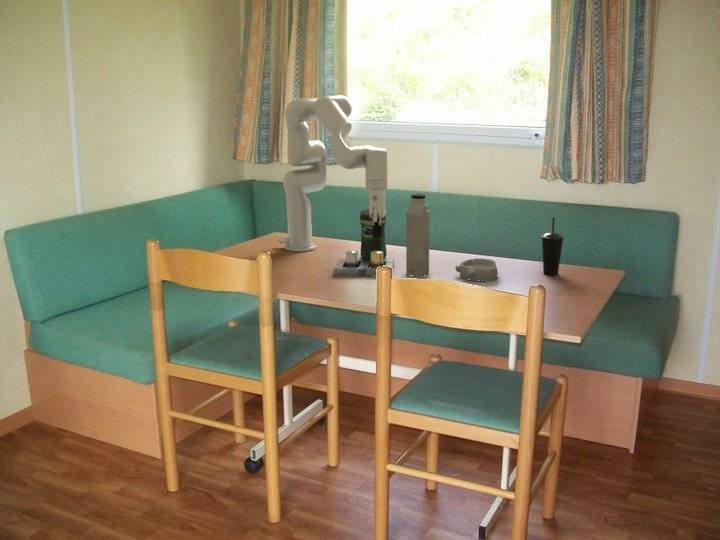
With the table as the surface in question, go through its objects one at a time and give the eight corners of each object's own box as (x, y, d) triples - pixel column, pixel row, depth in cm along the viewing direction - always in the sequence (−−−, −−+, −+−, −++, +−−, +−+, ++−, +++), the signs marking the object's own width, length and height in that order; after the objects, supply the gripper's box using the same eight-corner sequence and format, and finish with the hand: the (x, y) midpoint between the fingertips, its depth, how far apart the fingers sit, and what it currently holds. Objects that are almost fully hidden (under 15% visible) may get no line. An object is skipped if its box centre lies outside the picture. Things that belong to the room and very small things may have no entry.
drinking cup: (549, 278, 263) (552, 220, 258) (534, 273, 270) (537, 216, 264) (566, 275, 267) (570, 218, 261) (551, 270, 273) (554, 214, 268)
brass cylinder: (370, 272, 273) (370, 253, 271) (371, 269, 277) (371, 250, 276) (382, 273, 273) (382, 253, 271) (383, 269, 277) (383, 250, 275)
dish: (490, 270, 275) (490, 256, 273) (505, 280, 262) (506, 266, 260) (451, 273, 272) (451, 259, 270) (465, 284, 259) (465, 269, 257)
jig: (333, 275, 270) (333, 268, 269) (340, 265, 284) (339, 258, 283) (390, 277, 268) (390, 270, 267) (394, 266, 281) (394, 259, 280)
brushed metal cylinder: (345, 272, 274) (344, 253, 272) (347, 269, 279) (346, 250, 277) (357, 272, 274) (357, 253, 272) (359, 269, 278) (358, 250, 276)
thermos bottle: (401, 273, 271) (401, 195, 264) (416, 269, 277) (417, 192, 269) (418, 278, 266) (419, 197, 258) (433, 273, 271) (434, 194, 264)
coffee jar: (389, 257, 294) (389, 209, 289) (379, 261, 288) (378, 212, 283) (368, 254, 299) (367, 206, 294) (357, 258, 293) (356, 210, 288)
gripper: (385, 187, 259) (385, 241, 264) (389, 181, 273) (389, 231, 278) (363, 187, 260) (363, 240, 265) (368, 180, 274) (369, 231, 279)
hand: (377, 236), depth 271 cm, fingers closed
